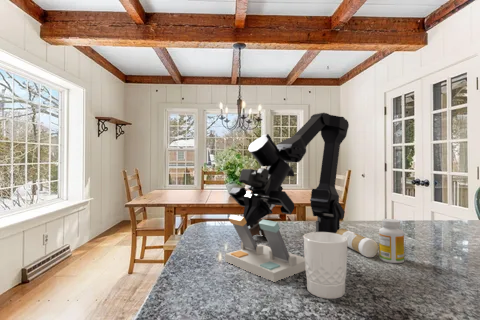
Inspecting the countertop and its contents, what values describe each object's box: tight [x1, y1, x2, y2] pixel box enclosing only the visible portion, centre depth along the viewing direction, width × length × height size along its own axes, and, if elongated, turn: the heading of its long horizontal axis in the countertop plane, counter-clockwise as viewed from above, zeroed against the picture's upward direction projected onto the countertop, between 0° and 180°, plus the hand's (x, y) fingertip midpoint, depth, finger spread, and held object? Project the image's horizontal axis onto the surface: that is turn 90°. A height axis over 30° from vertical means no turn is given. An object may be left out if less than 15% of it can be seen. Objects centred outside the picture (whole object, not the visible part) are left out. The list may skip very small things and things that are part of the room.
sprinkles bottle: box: [336, 227, 379, 258], centre depth 77 cm, size 5×5×13 cm
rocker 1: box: [228, 214, 258, 252], centre depth 68 cm, size 1×4×10 cm
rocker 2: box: [259, 218, 290, 263], centre depth 61 cm, size 1×4×10 cm, turn 41°
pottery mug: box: [248, 218, 266, 237], centre depth 89 cm, size 12×10×8 cm
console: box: [224, 241, 306, 283], centre depth 66 cm, size 12×16×4 cm
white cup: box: [303, 231, 348, 300], centre depth 52 cm, size 8×8×10 cm
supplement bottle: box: [378, 218, 405, 264], centre depth 69 cm, size 5×5×10 cm
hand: (242, 226), depth 68 cm, fingers closed, pressing on rocker 1
